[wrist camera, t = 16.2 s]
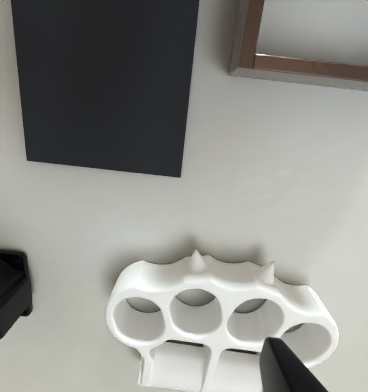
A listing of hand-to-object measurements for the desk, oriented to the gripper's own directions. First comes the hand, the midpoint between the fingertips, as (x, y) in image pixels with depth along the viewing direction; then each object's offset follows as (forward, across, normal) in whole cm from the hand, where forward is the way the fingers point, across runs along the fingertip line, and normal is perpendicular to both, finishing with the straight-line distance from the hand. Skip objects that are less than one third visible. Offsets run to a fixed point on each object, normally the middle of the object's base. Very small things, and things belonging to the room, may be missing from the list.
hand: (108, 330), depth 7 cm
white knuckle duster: (+13, -6, +11) cm, 18 cm away
